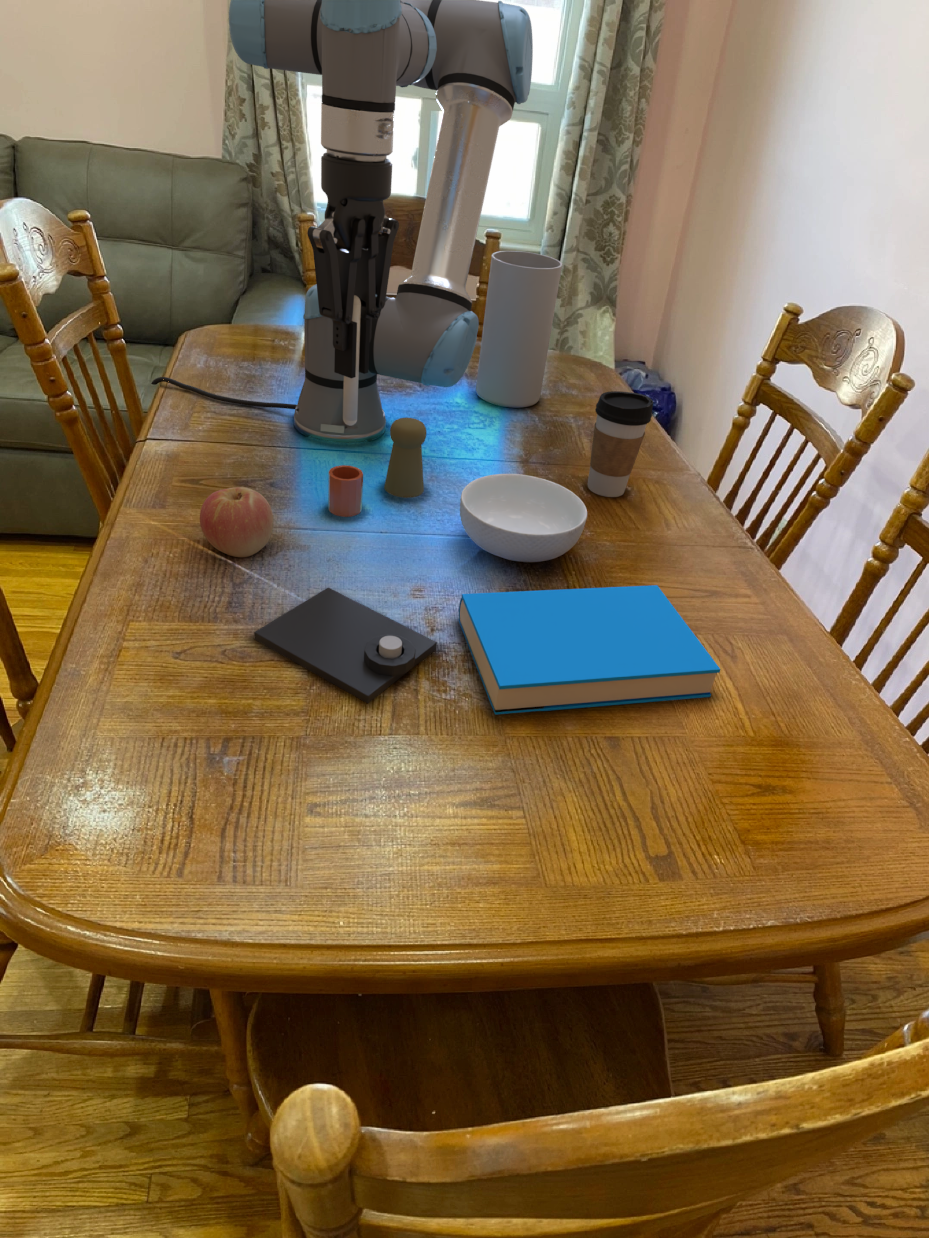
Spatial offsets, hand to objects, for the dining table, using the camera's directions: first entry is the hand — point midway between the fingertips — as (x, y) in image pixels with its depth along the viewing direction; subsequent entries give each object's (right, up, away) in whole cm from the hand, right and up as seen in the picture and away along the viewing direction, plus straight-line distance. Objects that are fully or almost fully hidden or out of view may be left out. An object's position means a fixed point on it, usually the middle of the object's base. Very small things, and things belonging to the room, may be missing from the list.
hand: (351, 372), depth 101 cm
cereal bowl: (+21, -21, +12) cm, 32 cm away
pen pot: (-3, -15, +14) cm, 21 cm away
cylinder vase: (+22, +13, +58) cm, 64 cm away
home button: (+6, -34, -14) cm, 37 cm away
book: (+27, -35, -7) cm, 45 cm away
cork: (+5, -11, +22) cm, 25 cm away
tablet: (+1, -33, -10) cm, 35 cm away
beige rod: (-1, -6, +4) cm, 7 cm away
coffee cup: (+36, -10, +30) cm, 48 cm away
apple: (-15, -22, +4) cm, 26 cm away
